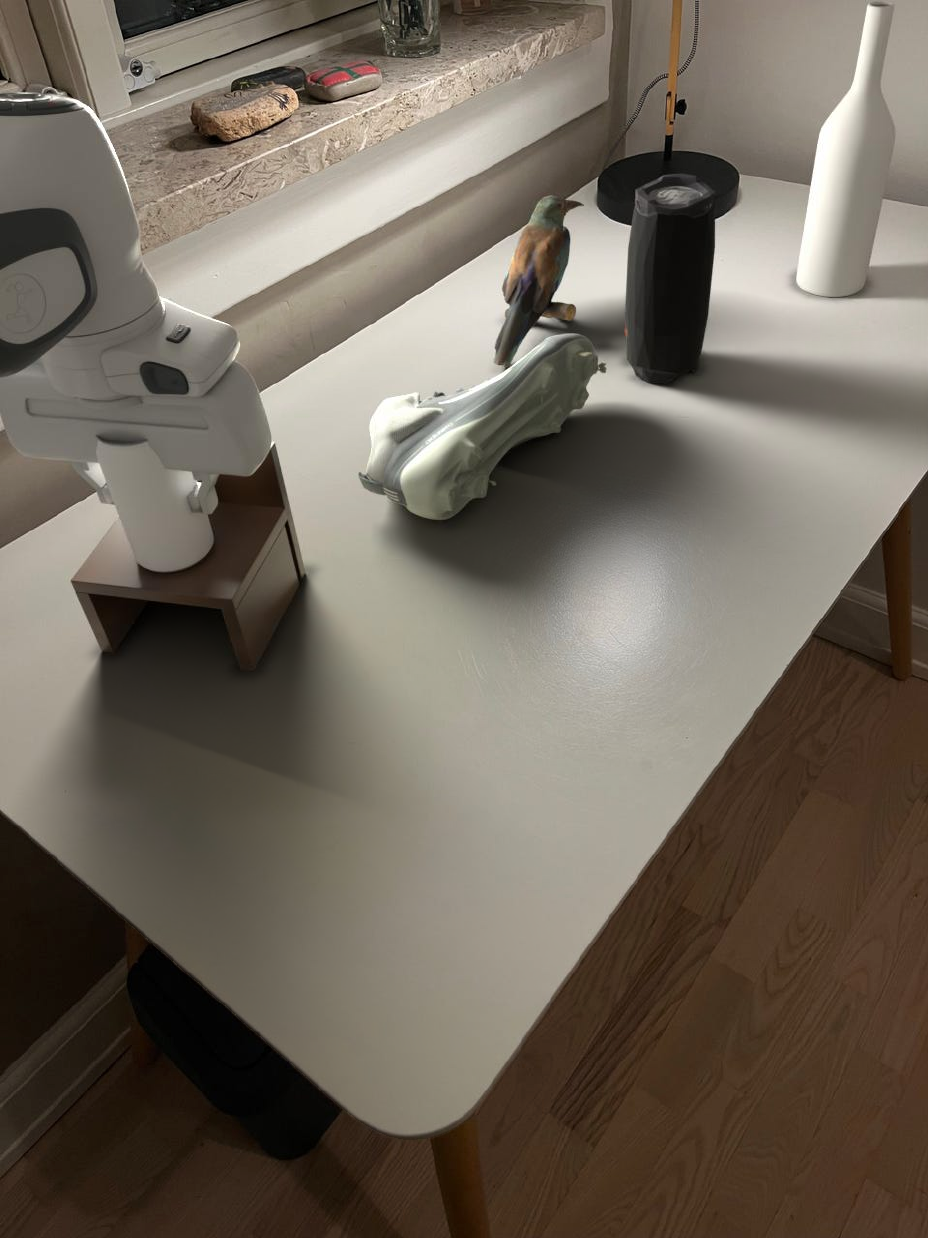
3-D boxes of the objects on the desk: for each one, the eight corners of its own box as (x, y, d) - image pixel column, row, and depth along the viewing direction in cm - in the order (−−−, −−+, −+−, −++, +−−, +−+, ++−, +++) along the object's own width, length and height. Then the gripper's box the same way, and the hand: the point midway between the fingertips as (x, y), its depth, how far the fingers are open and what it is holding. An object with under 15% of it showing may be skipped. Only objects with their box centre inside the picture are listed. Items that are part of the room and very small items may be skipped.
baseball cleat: (619, 316, 103) (494, 281, 110) (443, 456, 87) (310, 405, 94) (615, 403, 110) (497, 366, 117) (451, 549, 94) (326, 494, 101)
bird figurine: (545, 374, 113) (576, 180, 108) (464, 361, 117) (491, 173, 112) (582, 379, 125) (612, 204, 120) (508, 367, 129) (534, 197, 124)
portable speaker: (616, 384, 112) (622, 204, 99) (633, 342, 118) (640, 168, 105) (696, 391, 110) (713, 209, 96) (708, 348, 116) (726, 171, 103)
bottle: (873, 274, 126) (932, -5, 106) (853, 302, 121) (912, 17, 101) (807, 262, 130) (852, -9, 109) (786, 290, 125) (829, 11, 104)
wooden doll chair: (101, 651, 87) (43, 521, 78) (165, 556, 96) (120, 429, 86) (253, 671, 84) (213, 539, 75) (305, 572, 93) (275, 441, 83)
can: (231, 545, 84) (194, 418, 75) (165, 586, 80) (119, 458, 72) (184, 515, 87) (144, 390, 79) (120, 553, 84) (71, 428, 76)
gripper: (-50, 358, 71) (22, 517, 81) (221, 376, 67) (265, 542, 76) (-1, 315, 75) (63, 470, 85) (258, 329, 71) (294, 491, 81)
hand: (160, 504), depth 81 cm, fingers closed on can, 6 cm apart
